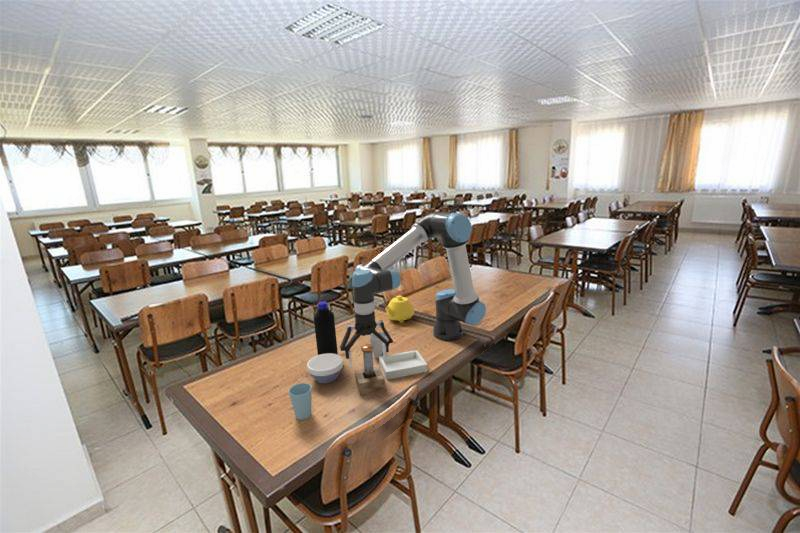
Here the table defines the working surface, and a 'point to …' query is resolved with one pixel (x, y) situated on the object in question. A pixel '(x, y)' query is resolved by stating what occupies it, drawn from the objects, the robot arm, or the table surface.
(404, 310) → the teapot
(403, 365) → the tray
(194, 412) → the table surface
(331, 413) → the table surface
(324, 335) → the bottle
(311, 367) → the bowl
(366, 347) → the pin
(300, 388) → the cup
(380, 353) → the cup
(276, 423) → the table surface
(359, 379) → the socket block
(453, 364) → the table surface
